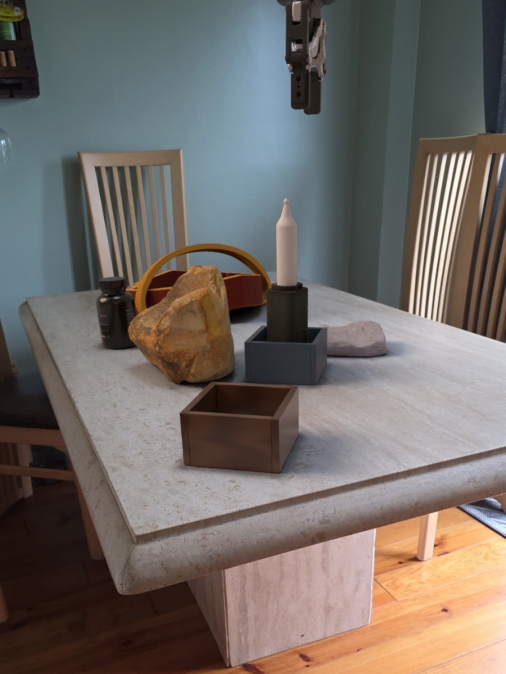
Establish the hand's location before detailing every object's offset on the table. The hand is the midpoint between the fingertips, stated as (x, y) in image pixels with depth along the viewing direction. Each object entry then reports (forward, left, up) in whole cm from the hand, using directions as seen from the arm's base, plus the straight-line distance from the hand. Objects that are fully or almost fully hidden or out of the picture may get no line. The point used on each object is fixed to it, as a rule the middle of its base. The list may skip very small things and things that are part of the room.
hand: (306, 112), depth 78 cm
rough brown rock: (+20, -3, -35) cm, 41 cm away
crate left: (+2, +26, -35) cm, 44 cm away
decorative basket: (+30, -44, -35) cm, 64 cm away
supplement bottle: (+37, -15, -35) cm, 53 cm away
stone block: (-5, -17, -35) cm, 39 cm away
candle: (+3, -3, -35) cm, 36 cm away
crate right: (+3, -3, -35) cm, 35 cm away
